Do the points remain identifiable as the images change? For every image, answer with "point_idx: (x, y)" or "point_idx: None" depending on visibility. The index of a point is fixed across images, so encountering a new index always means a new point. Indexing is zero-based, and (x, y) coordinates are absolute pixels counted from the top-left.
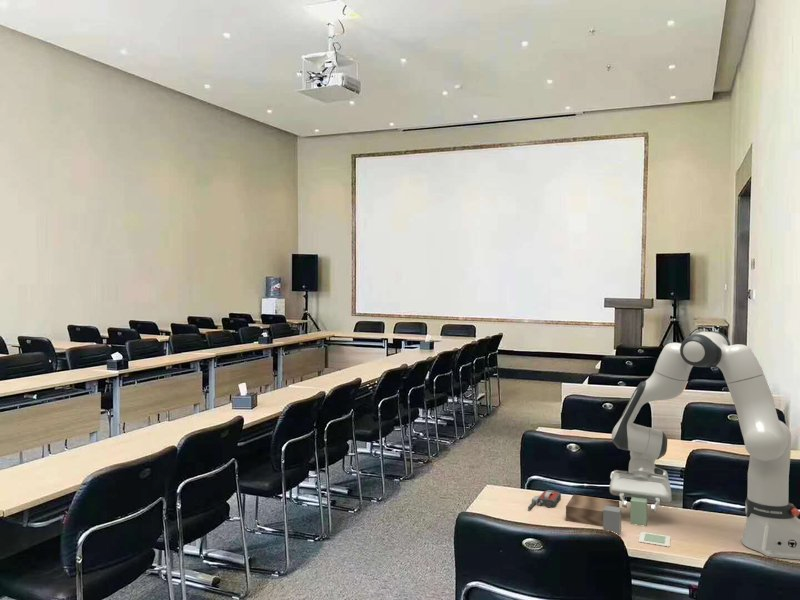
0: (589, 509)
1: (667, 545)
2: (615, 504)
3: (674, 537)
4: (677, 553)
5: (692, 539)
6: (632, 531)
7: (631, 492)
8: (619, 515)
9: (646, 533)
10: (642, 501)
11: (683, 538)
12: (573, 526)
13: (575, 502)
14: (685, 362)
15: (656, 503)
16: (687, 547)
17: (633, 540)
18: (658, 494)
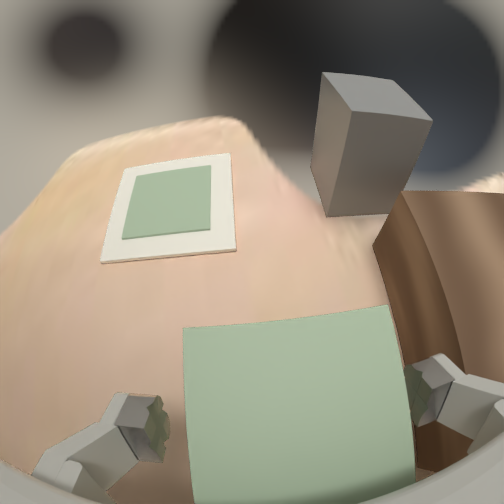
0: (492, 193)
1: (129, 170)
2: (477, 370)
3: (87, 271)
4: (113, 149)
5: (34, 284)
6: (280, 246)
7: (457, 466)
8: (322, 91)
9: (206, 239)
10: (238, 358)
11: (58, 278)
12: None
13: None
14: None
15: (87, 433)
16: (70, 201)
17: (251, 161)
18: (10, 484)
